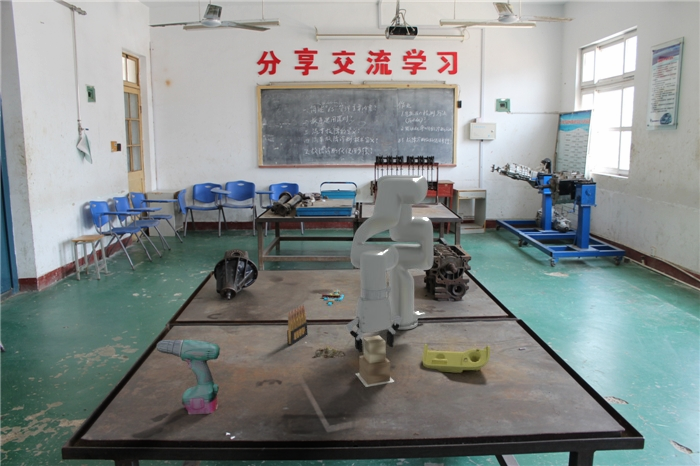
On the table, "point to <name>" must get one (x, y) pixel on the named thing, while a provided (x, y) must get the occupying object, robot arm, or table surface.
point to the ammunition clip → (296, 325)
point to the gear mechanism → (333, 297)
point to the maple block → (374, 349)
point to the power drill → (196, 372)
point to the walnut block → (374, 371)
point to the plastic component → (455, 359)
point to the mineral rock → (329, 353)
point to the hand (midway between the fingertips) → (374, 348)
